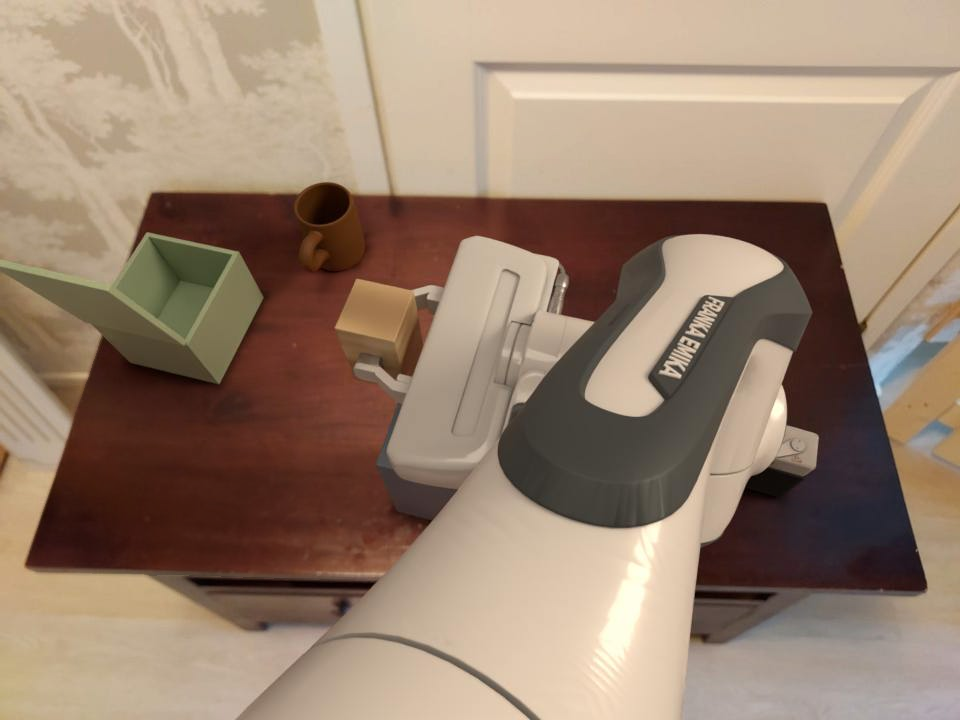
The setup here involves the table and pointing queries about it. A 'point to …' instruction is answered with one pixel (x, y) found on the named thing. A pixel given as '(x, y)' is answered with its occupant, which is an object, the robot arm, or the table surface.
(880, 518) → the table surface
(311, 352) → the table surface
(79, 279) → the box lid
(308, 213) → the mug
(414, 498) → the block
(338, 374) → the table surface
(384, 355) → the block
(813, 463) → the camera
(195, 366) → the box
